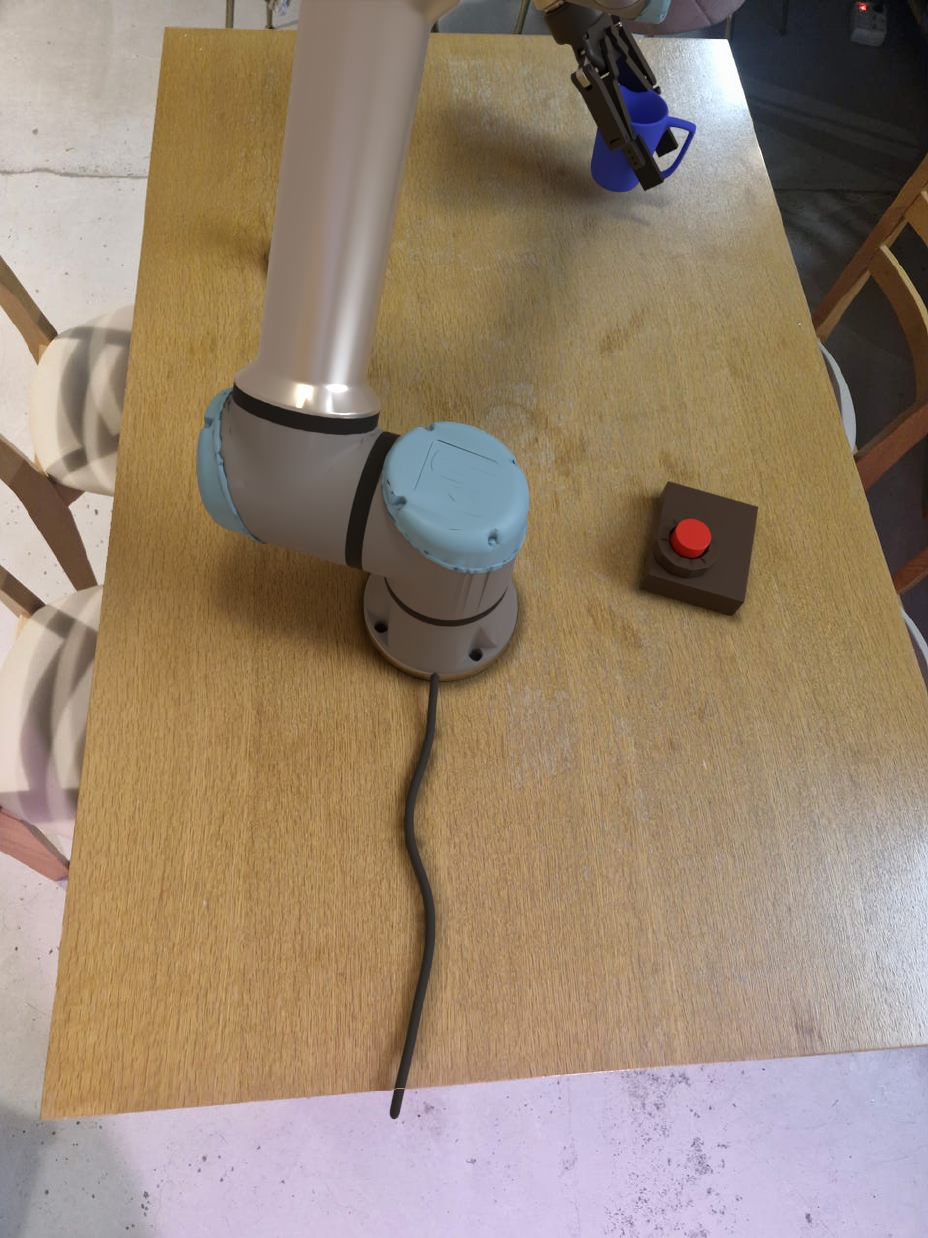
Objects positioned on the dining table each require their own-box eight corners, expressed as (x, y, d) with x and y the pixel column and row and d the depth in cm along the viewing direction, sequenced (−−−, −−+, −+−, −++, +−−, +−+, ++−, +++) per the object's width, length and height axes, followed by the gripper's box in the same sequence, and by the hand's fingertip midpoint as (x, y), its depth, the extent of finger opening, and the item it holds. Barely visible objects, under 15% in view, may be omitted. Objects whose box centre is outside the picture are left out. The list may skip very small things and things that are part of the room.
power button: (702, 562, 85) (708, 553, 84) (667, 552, 85) (673, 543, 84) (707, 533, 87) (713, 524, 85) (673, 523, 87) (678, 514, 85)
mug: (669, 212, 110) (697, 139, 101) (579, 191, 110) (599, 115, 101) (674, 174, 114) (701, 99, 105) (587, 153, 114) (607, 77, 105)
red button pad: (732, 616, 88) (751, 594, 84) (637, 588, 88) (651, 564, 84) (746, 522, 93) (765, 497, 89) (656, 496, 94) (670, 470, 89)
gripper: (569, 15, 88) (669, 203, 102) (620, -72, 97) (706, 111, 110) (514, 52, 94) (615, 226, 107) (567, -34, 102) (655, 137, 116)
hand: (661, 167), depth 109 cm, fingers closed on mug, 7 cm apart
